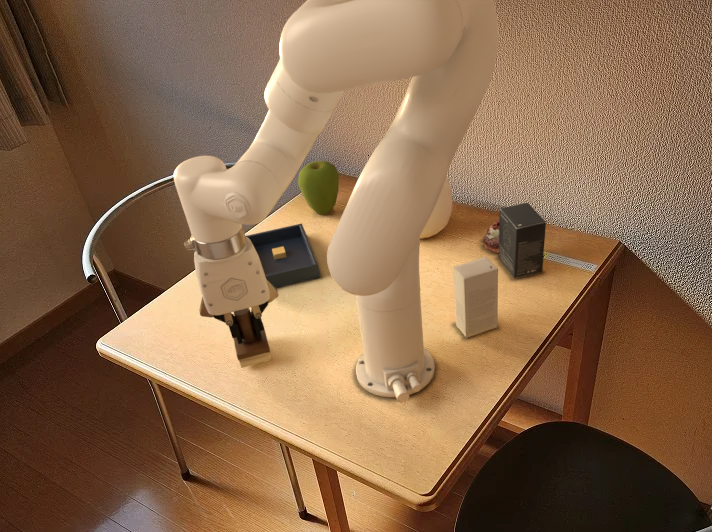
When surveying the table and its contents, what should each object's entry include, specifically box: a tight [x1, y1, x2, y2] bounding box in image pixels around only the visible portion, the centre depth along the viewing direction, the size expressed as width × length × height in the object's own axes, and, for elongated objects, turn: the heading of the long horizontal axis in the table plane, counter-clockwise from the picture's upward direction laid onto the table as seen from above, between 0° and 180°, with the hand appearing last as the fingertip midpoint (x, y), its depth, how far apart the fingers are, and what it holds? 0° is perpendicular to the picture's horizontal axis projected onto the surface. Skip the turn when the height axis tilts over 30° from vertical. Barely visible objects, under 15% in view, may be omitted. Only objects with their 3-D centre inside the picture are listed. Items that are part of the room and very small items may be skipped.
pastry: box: [482, 218, 500, 254], centre depth 140 cm, size 8×8×5 cm
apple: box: [297, 160, 340, 216], centre depth 154 cm, size 9×8×12 cm
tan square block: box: [272, 246, 286, 260], centre depth 146 cm, size 2×2×1 cm
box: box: [498, 202, 547, 279], centre depth 133 cm, size 8×6×11 cm
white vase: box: [420, 176, 453, 240], centre depth 145 cm, size 13×13×14 cm
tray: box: [245, 223, 321, 289], centre depth 144 cm, size 16×12×3 cm
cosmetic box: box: [453, 256, 499, 339], centre depth 120 cm, size 6×4×12 cm
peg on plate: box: [232, 308, 273, 369], centre depth 121 cm, size 7×5×9 cm
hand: (249, 335), depth 122 cm, fingers closed on peg on plate, 2 cm apart
